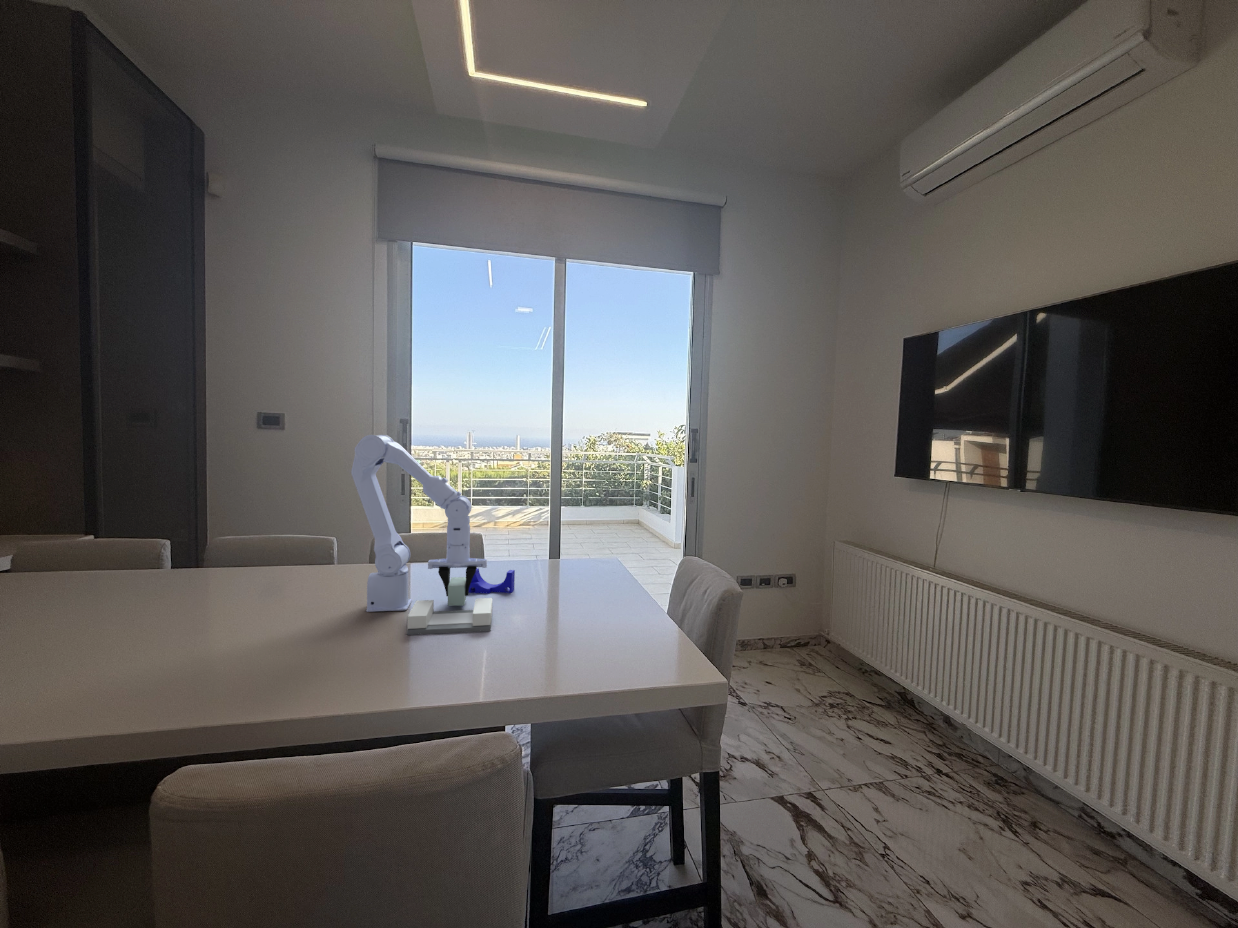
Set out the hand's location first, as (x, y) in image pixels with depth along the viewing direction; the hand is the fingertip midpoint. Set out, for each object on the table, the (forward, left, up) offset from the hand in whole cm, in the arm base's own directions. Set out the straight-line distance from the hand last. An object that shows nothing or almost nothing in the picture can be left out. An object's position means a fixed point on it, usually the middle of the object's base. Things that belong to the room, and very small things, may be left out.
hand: (457, 594), depth 136 cm
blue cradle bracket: (+8, +11, -3) cm, 14 cm away
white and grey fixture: (0, -13, -3) cm, 13 cm away
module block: (0, 0, -1) cm, 1 cm away
